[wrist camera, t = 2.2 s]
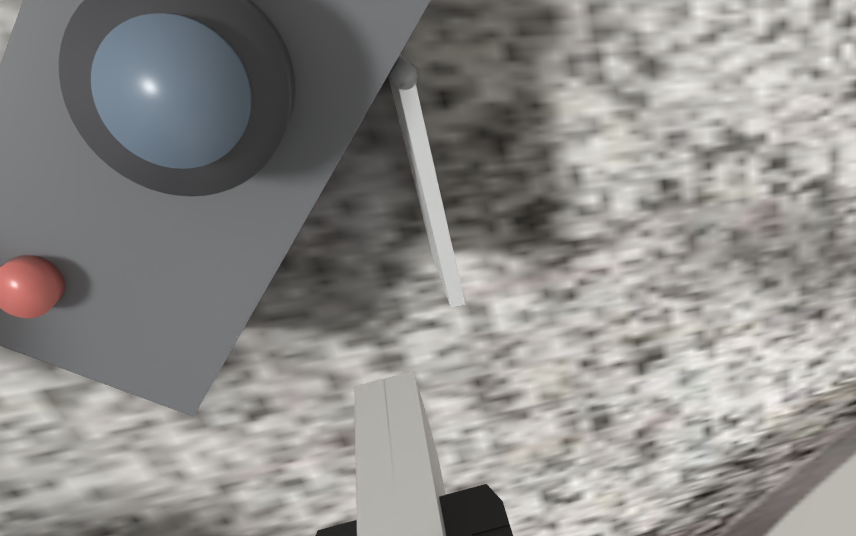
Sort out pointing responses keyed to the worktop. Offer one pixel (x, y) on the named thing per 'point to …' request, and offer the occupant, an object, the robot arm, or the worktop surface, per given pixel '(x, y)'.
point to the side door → (425, 176)
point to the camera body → (170, 171)
